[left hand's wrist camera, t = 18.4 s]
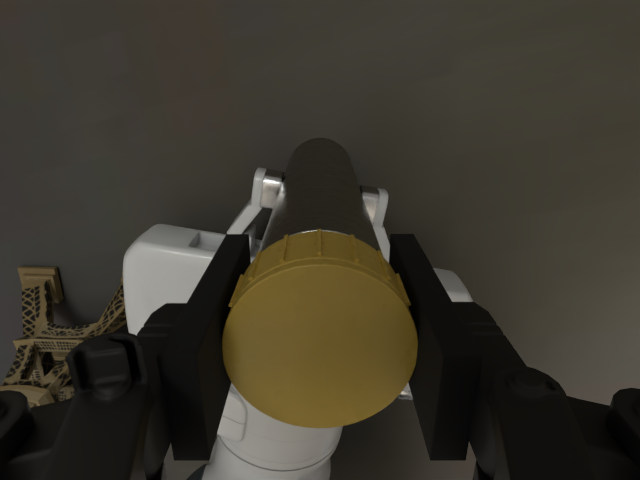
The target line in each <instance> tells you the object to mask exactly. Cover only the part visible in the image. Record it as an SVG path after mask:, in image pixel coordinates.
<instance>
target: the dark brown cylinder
mask: <svg viewBox="0 0 640 480" xmlns="http://www.w3.org/2000/svg"><path fill="white" fill-rule="evenodd" d="M317 229H321V231H328V232H336V233H341V234H345V235H348V236H350V234H352V235H354V236H355V238H357V239H359V240H361V241H363V242H365V243H366V244H368V245H369V246H371V247H372V248H374V249H375V250H376V251H378V250H380V251H381V249H380V246H379V243H378V240H377V237H376V234H375V231H374V228H373V226H372V223H371V220H370V217H369V214H368V211H367V208H366V205H365V202H364V199H363V196H362V194H361V191H360V188H359V185H358V182H357V179H356V176H355V173H354V170H353V167H352V165H351V162H350V159H349V156H348V154H347V153H346V151H345V150H344V149H343V148H342V147H341V146H340V145H339V144H337V143H336V142H334V141H332V140H329V139H324V138H316V139H311V140H308V141H306V142H304V143H302V144H301V145H300V146H299V147H298V148H297V149H296V150H295V151H294V152H293V154H292V156H291V158H290V161H289V164H288V167H287V170H286V173H285V175H284V178H283V181H282V184H281V187H280V190H279V193H278V196H277V199H276V202H275V204H274V207H273V210H272V213H271V216H270V219H269V222H268V225H267V228H266V231H265V234H264V236H263V239H262V242H261V245H260V248H259V251H261V252H262V251H264V250H265V249H266V248H267V247H269V246H270V245H272V244H274V243H275V242H277V241H279V240H281V239H284V236H285V235H287V234H288V236H292V235H295V234H298V233H304V232H310V231H317Z"/></svg>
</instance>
